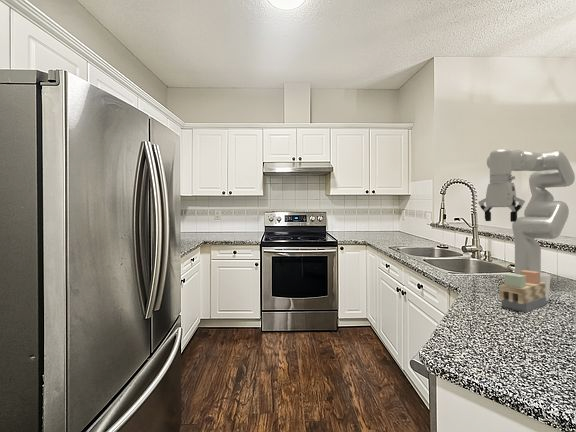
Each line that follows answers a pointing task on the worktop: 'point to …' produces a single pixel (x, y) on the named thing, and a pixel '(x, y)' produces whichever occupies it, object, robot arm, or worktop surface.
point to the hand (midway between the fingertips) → (500, 221)
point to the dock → (525, 304)
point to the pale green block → (515, 280)
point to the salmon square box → (531, 276)
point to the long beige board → (523, 292)
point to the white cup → (546, 283)
